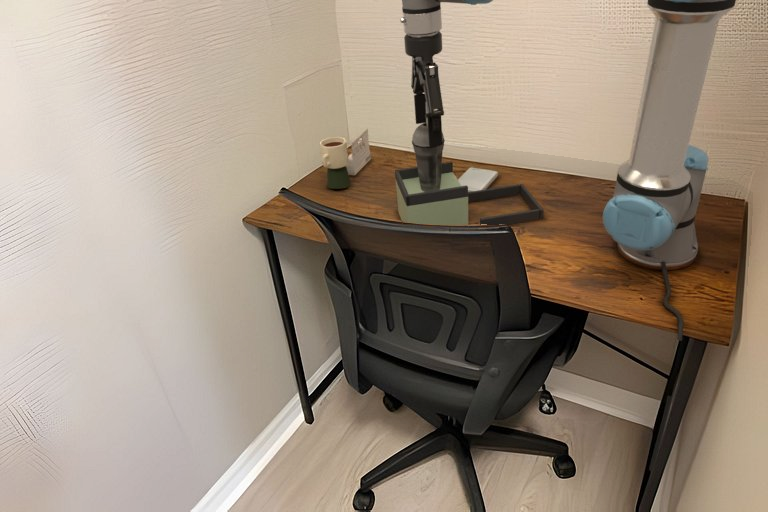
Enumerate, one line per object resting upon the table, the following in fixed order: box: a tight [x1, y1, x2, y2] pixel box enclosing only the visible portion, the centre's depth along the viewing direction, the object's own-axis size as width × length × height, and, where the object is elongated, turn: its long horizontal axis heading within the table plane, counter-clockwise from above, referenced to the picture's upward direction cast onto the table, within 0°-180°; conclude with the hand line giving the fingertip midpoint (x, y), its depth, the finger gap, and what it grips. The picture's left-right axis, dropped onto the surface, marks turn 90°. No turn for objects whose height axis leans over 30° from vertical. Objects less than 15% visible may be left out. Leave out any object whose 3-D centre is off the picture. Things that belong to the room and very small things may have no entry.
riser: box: [394, 161, 545, 226], centre depth 140 cm, size 14×32×12 cm, turn 99°
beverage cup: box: [411, 103, 445, 192], centre depth 131 cm, size 7×7×20 cm
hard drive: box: [457, 166, 499, 192], centre depth 155 cm, size 2×8×12 cm
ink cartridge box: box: [346, 128, 372, 176], centre depth 168 cm, size 2×11×10 cm, turn 157°
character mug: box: [319, 136, 351, 190], centre depth 158 cm, size 11×7×13 cm, turn 152°
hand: (428, 133), depth 129 cm, fingers open, 13 cm apart
